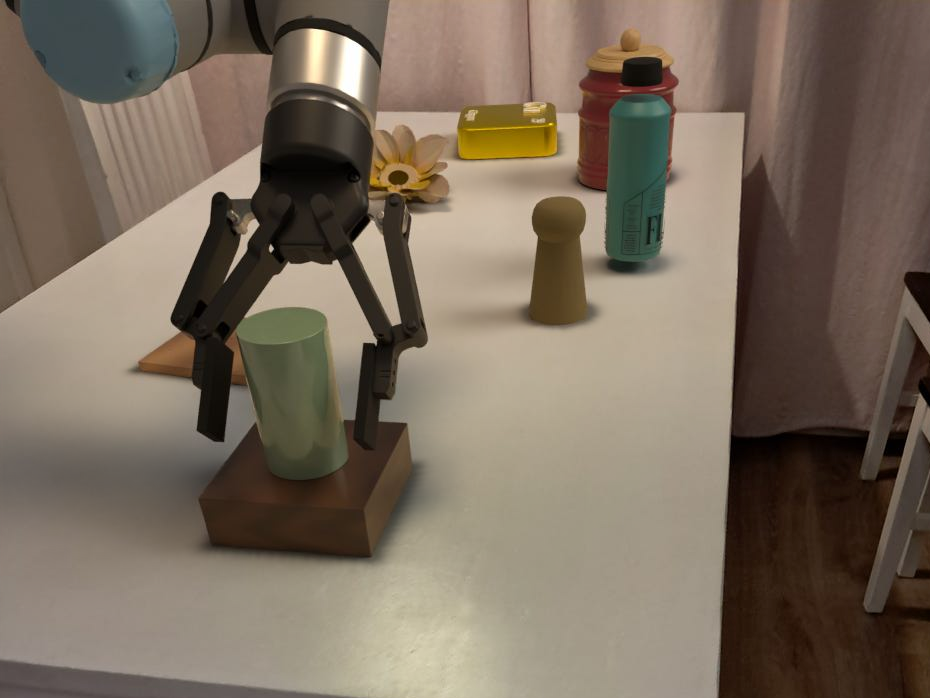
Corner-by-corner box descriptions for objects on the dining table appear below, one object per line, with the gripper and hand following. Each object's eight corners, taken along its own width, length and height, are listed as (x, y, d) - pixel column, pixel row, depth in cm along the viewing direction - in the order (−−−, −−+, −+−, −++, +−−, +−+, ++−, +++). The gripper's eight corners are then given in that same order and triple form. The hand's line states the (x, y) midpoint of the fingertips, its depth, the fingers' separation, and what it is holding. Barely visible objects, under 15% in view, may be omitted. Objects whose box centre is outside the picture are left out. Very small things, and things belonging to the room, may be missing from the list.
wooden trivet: (140, 371, 89) (137, 361, 88) (209, 322, 97) (207, 312, 97) (247, 386, 85) (244, 375, 85) (309, 333, 94) (307, 324, 93)
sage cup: (250, 473, 66) (217, 338, 59) (292, 433, 70) (265, 303, 63) (324, 486, 64) (299, 348, 57) (362, 444, 68) (343, 311, 62)
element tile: (463, 135, 150) (461, 102, 147) (555, 131, 150) (555, 98, 146) (457, 161, 139) (455, 125, 136) (557, 156, 138) (557, 121, 135)
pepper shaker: (590, 324, 92) (594, 207, 85) (530, 327, 92) (528, 211, 85) (584, 300, 97) (587, 188, 89) (527, 303, 97) (525, 191, 89)
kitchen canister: (572, 193, 125) (574, 39, 113) (581, 166, 134) (584, 21, 122) (669, 193, 122) (682, 36, 111) (672, 165, 132) (684, 18, 120)
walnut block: (211, 545, 66) (197, 498, 64) (270, 459, 75) (260, 415, 72) (371, 557, 64) (363, 509, 62) (412, 468, 73) (407, 422, 70)
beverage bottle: (647, 279, 100) (662, 66, 87) (591, 270, 103) (598, 62, 90) (670, 260, 104) (688, 53, 91) (617, 251, 107) (626, 50, 94)
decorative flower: (332, 209, 118) (328, 119, 114) (342, 204, 128) (338, 122, 124) (449, 211, 119) (449, 122, 114) (449, 207, 129) (450, 125, 124)
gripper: (491, 158, 66) (460, 464, 65) (192, 158, 70) (159, 446, 68) (473, 89, 58) (438, 433, 57) (140, 94, 62) (101, 416, 61)
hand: (286, 441), depth 63 cm, fingers open, 10 cm apart
